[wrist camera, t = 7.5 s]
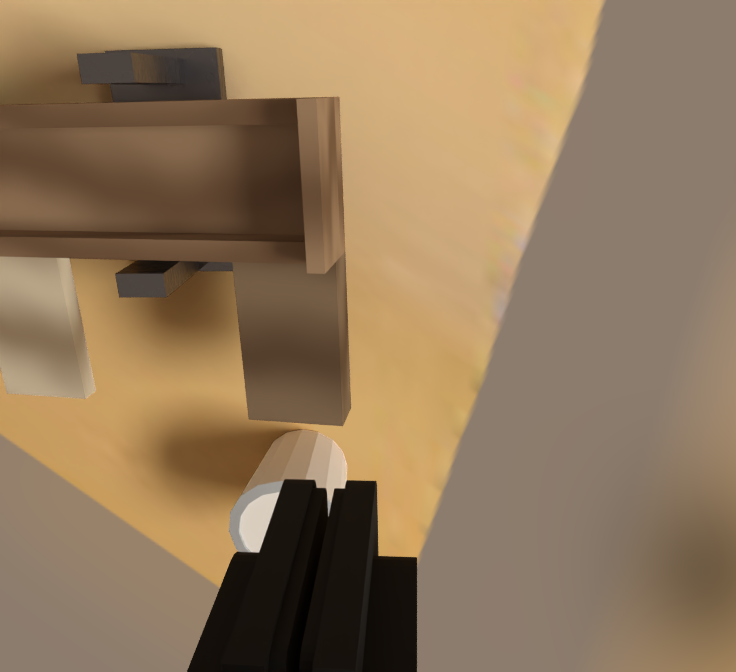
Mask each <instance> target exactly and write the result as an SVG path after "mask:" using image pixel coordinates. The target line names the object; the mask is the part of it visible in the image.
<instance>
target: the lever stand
mask: <svg viewBox="0 0 736 672" xmlns="http://www.w3.org/2000/svg"><path fill="white" fill-rule="evenodd" d="M77 58H78V64H79V70H80V75H81V81H82V84H110V86H111V92H112V98H113V102H144V101H187V100H227V97H226V87H225V77H224V67H223V56H222V49H221V48H186V49H154V50H122V51H105V53H90V54H77ZM198 271H233V264H232V262H201V261H161V260H137V261H135V262H134V263H132V264H130V265H129V266H127V267H126V268H124V269H122V270H121V271H119V272H117V273H116V274H115V275H116V281H117V286H118V292H119V297H168V296H169V295H170V294H171V293H172V292H174V291H175V290H176V289H177V288H178V287H180V286H181V285H182V284H183V283H184V282H186V281H187V280H188V279H189V278H190V277H192V276H193V275H194V274H195V273H196V272H198Z"/></svg>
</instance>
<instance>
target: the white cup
mask: <svg viewBox="0 0 736 672" xmlns="http://www.w3.org/2000/svg"><path fill="white" fill-rule="evenodd" d="M285 479H306V480H315V481H316V487H317V488H326V490H327V501H328V516H329V512H330V507H331V502H332V497H333V492H334V489H335V488H345V484H346V481H347V463H346V460H345V457H344V453H343V451H342V450H341V449H340V448H339V446H338V445H337V444H336V443H335V442H334V441H333V440H332V439H330V438H329V437H327V436H325V435H323V434H321V433H320V432H316V431H309V430H303V429H301V430H296V431H291V432H286V433H285V434H283V435H282V436H280V437H279V438H277V439H276V440H274V442H273V443H272V445H271V447H270V448H269V450H268V451H267V453H266V455H265V456H264V458H263V460H262V461H261V463H260V465H259V466H258V468H257V469H256V471H255V473H254V474H253V476H252V478H251V479H250V481H249V483H248V484H247V486H246V488H245V489H244V491H243V493H242V494H241V496H240V497H239V499H238V501H237V502H236V504H235V506H234V507H233V509H232V511H231V512H230V525H229V532H230V535H231V537H232V540H233V542H234V545H235V547H236V549H237V550H238V551H239V552H259V551H260V548H261V546H262V543H263V540H264V537H265V534H266V531H267V528H268V525H269V522H270V519H271V516H272V513H273V510H274V507H275V504H276V502H277V499H278V496H279V493H280V490H281V487H282V484H283V482H284V480H285Z"/></svg>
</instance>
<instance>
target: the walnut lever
mask: <svg viewBox="0 0 736 672" xmlns="http://www.w3.org/2000/svg"><path fill="white" fill-rule="evenodd" d="M69 258H79V259H120V260H161V261H201V262H232V264H233V274H234V283H235V293H236V302H237V312H238V322H239V331H240V341H241V350H242V360H243V369H244V379H245V388H246V398H247V408H248V417H249V419H250V420H264V421H278V422H292V423H306V424H320V425H335V426H343V425H344V422H345V420H346V418H347V416H348V413H349V411H350V409H351V393H350V366H349V340H348V313H347V287H346V260H345V233H344V207H343V180H342V154H341V127H340V100H339V97H313V98H271V99H229V100H187V101H144V102H102V103H60V104H18V105H0V368H1V372H2V376H3V379H4V383H5V387H6V391H7V393H8V394H23V395H37V396H52V397H67V398H81V399H86V398H87V397H89V396H90V395H91V394H93V393H94V392H95V391H96V388H95V384H94V379H93V374H92V369H91V364H90V359H89V354H88V349H87V344H86V339H85V334H84V329H83V324H82V319H81V314H80V309H79V304H78V299H77V294H76V289H75V284H74V279H73V274H72V269H71V264H70V259H69Z"/></svg>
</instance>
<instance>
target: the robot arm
mask: <svg viewBox="0 0 736 672" xmlns="http://www.w3.org/2000/svg"><path fill="white" fill-rule="evenodd" d="M187 672H417V557H388V556H378V515H377V483H376V481H350V480H347V481H346V484H345V488H335V489H334V492H333V497H332V502H331V507H330V512H329V516H328V501H327V490H326V488H317V487H316V481H315V480H306V479H285V480H284V482H283V484H282V487H281V490H280V493H279V496H278V499H277V502H276V504H275V507H274V510H273V513H272V516H271V519H270V522H269V525H268V528H267V531H266V534H265V537H264V540H263V543H262V546H261V548H260V551H259V552H236V553H235V554H234V556H233V558H232V559H231V562H230V564H229V567H228V569H227V572H226V574H225V577H224V579H223V582H222V584H221V587H220V589H219V592H218V594H217V597H216V600H215V602H214V605H213V607H212V610H211V612H210V615H209V617H208V620H207V622H206V625H205V628H204V630H203V633H202V635H201V637H200V640H199V643H198V645H197V648H196V650H195V653H194V655H193V658H192V660H191V663H190V665H189V668H188V670H187Z"/></svg>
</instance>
